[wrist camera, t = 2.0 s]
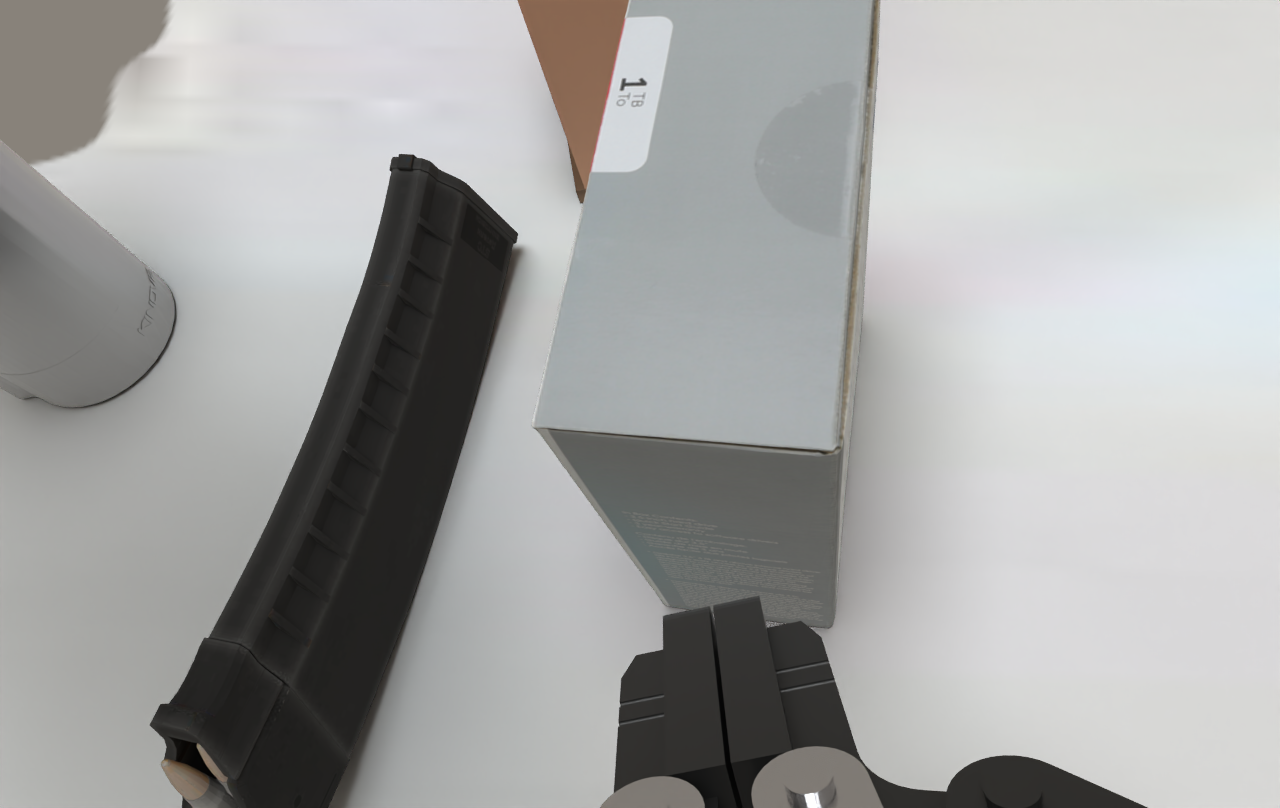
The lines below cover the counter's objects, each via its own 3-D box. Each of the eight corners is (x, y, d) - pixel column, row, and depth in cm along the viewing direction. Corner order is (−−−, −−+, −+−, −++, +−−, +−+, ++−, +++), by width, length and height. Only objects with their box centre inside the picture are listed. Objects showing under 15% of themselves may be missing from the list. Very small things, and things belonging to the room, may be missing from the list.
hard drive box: (706, 306, 45) (634, -38, 27) (862, 314, 43) (893, -48, 26) (657, 612, 39) (523, 422, 21) (837, 636, 37) (856, 450, 19)
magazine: (421, 91, 43) (-37, 671, 24) (484, 92, 42) (62, 695, 23) (501, 349, 55) (244, 864, 36) (551, 354, 54) (315, 884, 35)
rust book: (584, 189, 48) (505, -35, 36) (575, 134, 50) (496, -97, 38) (803, 134, 47) (798, -116, 35) (786, 80, 49) (775, -175, 37)
